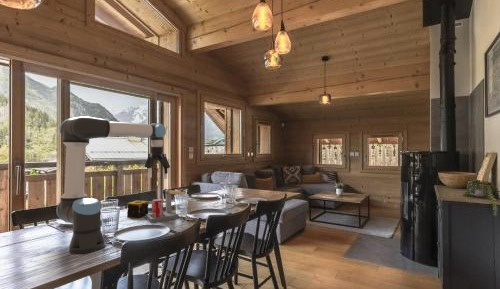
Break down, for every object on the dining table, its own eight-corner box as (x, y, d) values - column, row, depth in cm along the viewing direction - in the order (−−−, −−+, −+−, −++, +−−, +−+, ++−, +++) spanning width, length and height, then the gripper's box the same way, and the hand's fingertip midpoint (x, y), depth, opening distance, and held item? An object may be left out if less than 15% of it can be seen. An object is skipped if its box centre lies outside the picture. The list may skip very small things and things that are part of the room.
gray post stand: (151, 222, 176) (150, 199, 176) (145, 217, 188) (145, 195, 187) (178, 218, 186) (178, 195, 186) (171, 213, 198) (171, 192, 198)
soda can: (159, 220, 180) (159, 201, 180) (149, 220, 182) (149, 200, 182) (165, 217, 187) (165, 198, 187) (155, 217, 189) (155, 198, 189)
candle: (126, 217, 189) (126, 203, 189) (136, 214, 199) (136, 200, 199) (139, 218, 186) (138, 204, 186) (148, 215, 196) (148, 200, 196)
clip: (164, 193, 193) (164, 188, 193) (167, 192, 196) (167, 188, 196) (182, 195, 187) (181, 190, 187) (185, 194, 190) (185, 189, 190)
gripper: (138, 146, 186) (139, 178, 187) (167, 146, 175) (167, 179, 175) (147, 146, 193) (148, 176, 193) (175, 146, 182) (175, 178, 182)
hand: (157, 178), depth 184 cm, fingers open, 13 cm apart
